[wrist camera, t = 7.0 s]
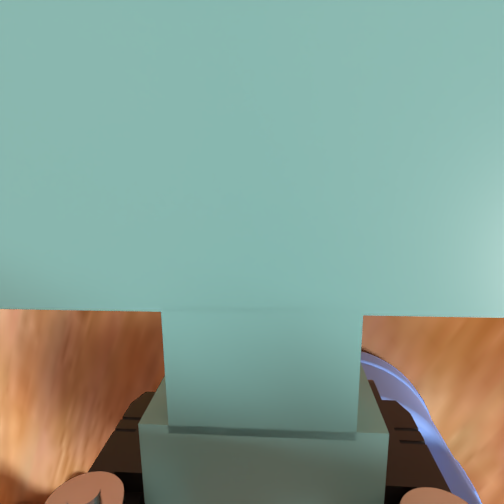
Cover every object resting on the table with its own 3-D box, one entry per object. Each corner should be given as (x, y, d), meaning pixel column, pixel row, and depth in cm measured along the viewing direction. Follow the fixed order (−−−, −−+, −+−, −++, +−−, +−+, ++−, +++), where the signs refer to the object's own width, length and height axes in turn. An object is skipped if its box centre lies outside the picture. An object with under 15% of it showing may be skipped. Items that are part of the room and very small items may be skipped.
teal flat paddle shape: (-76, -510, 6) (-358, -1040, 3) (657, -616, 5) (1039, -1411, 3) (62, 500, 10) (-16, 621, 8) (488, 524, 10) (572, 668, 7)
